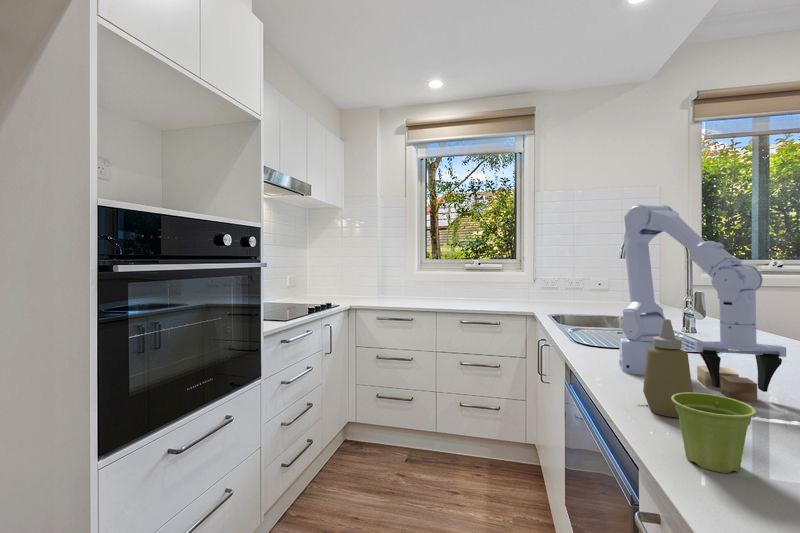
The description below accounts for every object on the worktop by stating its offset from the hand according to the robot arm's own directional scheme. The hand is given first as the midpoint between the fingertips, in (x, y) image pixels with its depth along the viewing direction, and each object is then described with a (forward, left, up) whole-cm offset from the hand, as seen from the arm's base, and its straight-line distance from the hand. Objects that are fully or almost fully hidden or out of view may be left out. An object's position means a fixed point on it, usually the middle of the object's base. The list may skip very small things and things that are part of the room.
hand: (738, 388), depth 80 cm
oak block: (-1, +9, -2) cm, 9 cm away
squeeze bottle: (-15, -13, -3) cm, 20 cm away
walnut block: (0, 0, -3) cm, 3 cm away
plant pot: (-14, -33, -3) cm, 36 cm away
